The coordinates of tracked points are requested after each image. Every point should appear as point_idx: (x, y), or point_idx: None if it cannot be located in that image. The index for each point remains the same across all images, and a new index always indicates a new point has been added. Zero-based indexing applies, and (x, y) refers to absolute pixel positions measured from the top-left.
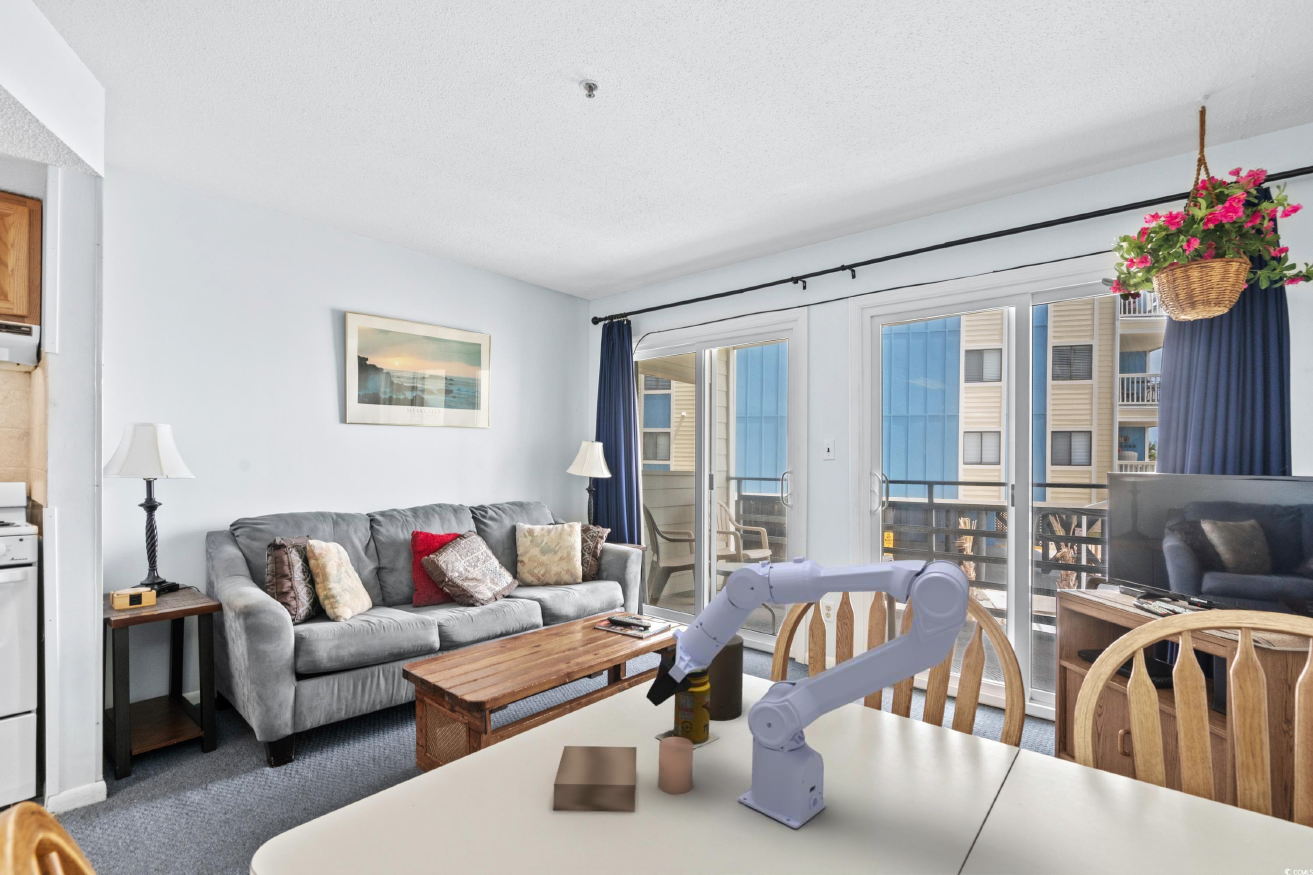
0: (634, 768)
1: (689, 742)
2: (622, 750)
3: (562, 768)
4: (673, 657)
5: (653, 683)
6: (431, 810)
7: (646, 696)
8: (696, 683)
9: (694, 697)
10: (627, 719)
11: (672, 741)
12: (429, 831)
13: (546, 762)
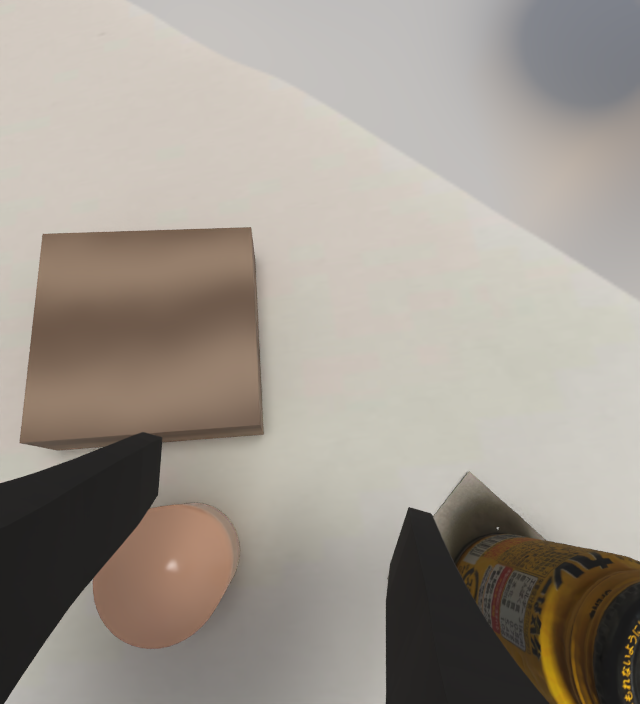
0: (120, 431)
1: (178, 630)
2: (233, 384)
3: (124, 241)
4: (426, 604)
5: (51, 467)
6: (82, 62)
7: (139, 433)
8: (574, 690)
9: (524, 655)
10: (564, 380)
11: (185, 557)
12: (10, 76)
13: (285, 218)
